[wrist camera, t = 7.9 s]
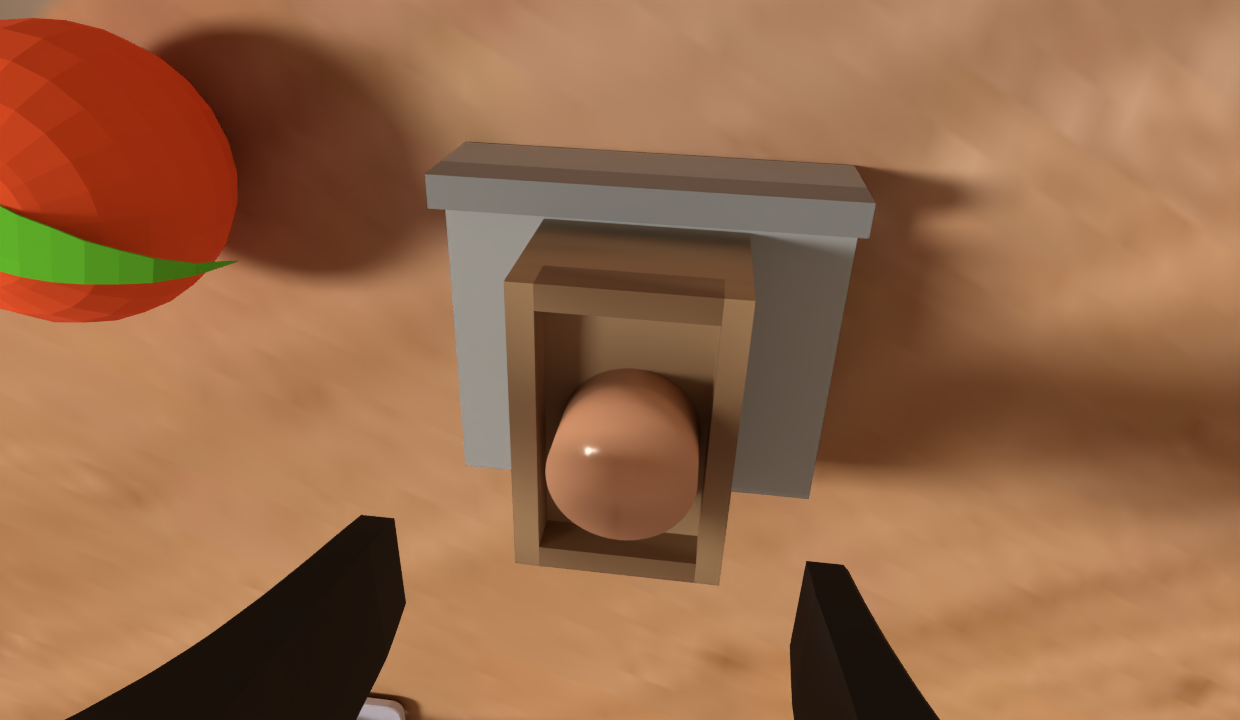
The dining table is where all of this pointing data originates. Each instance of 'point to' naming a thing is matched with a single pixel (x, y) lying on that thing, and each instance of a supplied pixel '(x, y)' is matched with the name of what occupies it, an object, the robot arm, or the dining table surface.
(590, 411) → the ball
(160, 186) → the red fruit
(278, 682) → the robot arm
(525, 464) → the open wooden crate
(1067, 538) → the dining table surface
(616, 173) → the dock
